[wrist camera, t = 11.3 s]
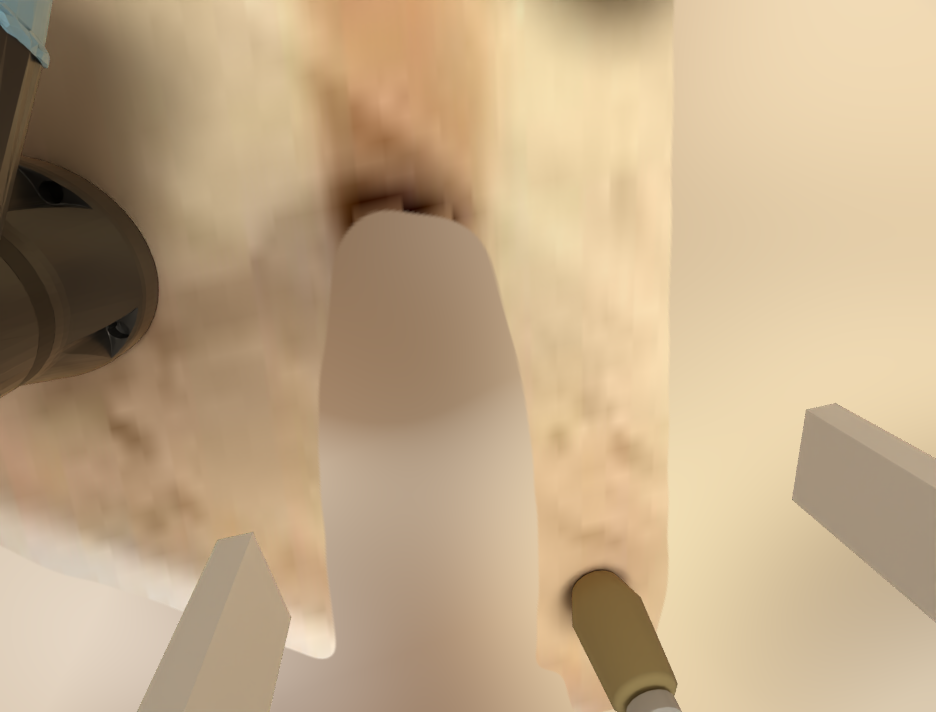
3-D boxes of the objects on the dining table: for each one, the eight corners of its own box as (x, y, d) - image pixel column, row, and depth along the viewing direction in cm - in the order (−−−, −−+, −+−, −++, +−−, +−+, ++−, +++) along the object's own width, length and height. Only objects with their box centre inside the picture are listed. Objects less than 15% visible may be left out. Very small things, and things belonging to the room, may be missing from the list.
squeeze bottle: (626, 553, 53) (730, 732, 36) (630, 602, 56) (728, 786, 40) (557, 572, 52) (631, 761, 36) (565, 620, 56) (636, 814, 39)
